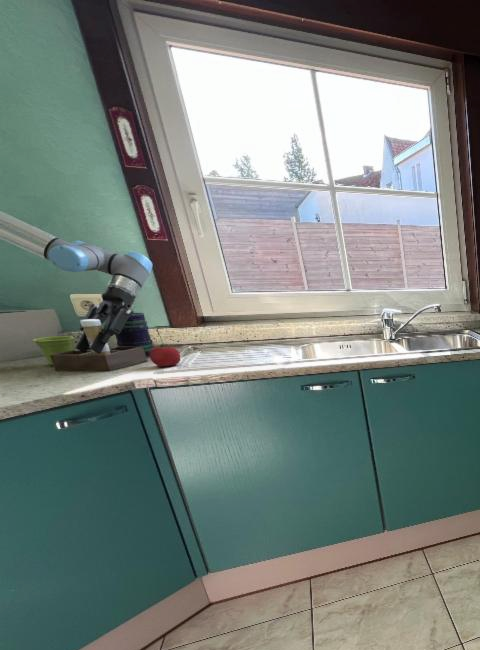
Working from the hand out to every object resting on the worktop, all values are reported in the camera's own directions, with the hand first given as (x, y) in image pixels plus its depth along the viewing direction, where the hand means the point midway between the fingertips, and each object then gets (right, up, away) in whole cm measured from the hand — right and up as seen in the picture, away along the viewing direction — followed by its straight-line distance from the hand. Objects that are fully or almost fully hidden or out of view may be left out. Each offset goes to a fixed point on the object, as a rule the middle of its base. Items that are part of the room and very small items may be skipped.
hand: (87, 350), depth 156 cm
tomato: (+16, -3, +11) cm, 20 cm away
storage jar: (-7, +3, +25) cm, 26 cm away
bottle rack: (-4, -3, +9) cm, 10 cm away
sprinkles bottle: (0, -3, +5) cm, 6 cm away
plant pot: (-18, -3, +9) cm, 21 cm away
